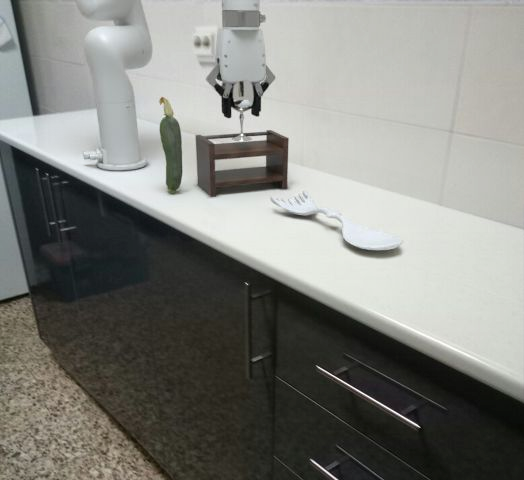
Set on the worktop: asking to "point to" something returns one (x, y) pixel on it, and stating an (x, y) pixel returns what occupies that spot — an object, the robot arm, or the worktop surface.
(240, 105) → the wineglass
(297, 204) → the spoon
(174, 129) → the vegetable
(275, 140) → the rack
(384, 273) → the worktop surface
